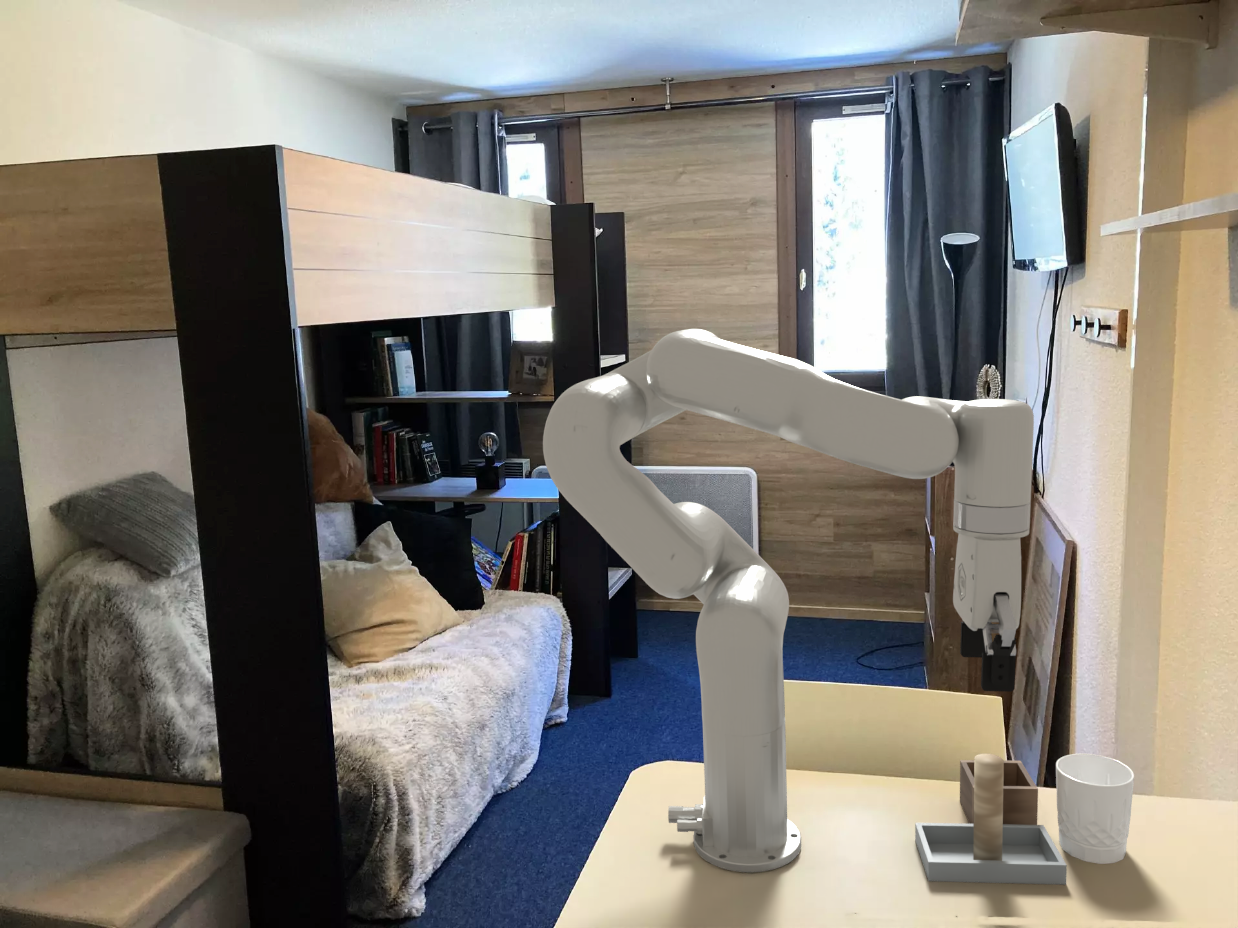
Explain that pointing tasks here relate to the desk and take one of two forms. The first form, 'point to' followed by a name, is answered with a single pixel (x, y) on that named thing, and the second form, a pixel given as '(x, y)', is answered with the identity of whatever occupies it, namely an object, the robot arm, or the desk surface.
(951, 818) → the desk surface
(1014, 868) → the tray
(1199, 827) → the desk surface
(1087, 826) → the white cup
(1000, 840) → the dowel
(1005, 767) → the pen pot
